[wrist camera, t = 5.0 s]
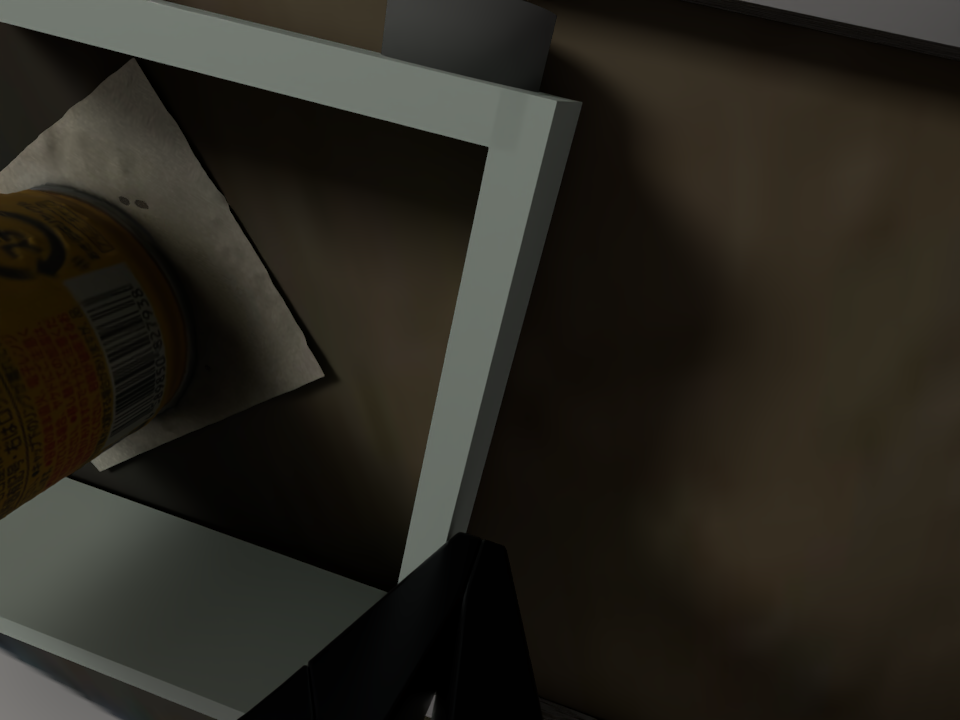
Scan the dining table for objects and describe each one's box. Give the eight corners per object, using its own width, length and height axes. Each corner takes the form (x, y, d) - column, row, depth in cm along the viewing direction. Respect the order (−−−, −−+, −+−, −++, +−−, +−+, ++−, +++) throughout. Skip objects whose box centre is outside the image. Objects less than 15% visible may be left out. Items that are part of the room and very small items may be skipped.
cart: (600, 34, 9) (584, -12, 5) (433, 651, 16) (378, 811, 12) (-56, -116, 10) (-411, -231, 7) (50, 510, 17) (-101, 617, 14)
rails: (1095, 1, 8) (1156, -13, 7) (639, 759, 16) (640, 797, 15) (-467, -313, 11) (-563, -351, 10) (-174, 455, 19) (-213, 472, 18)
